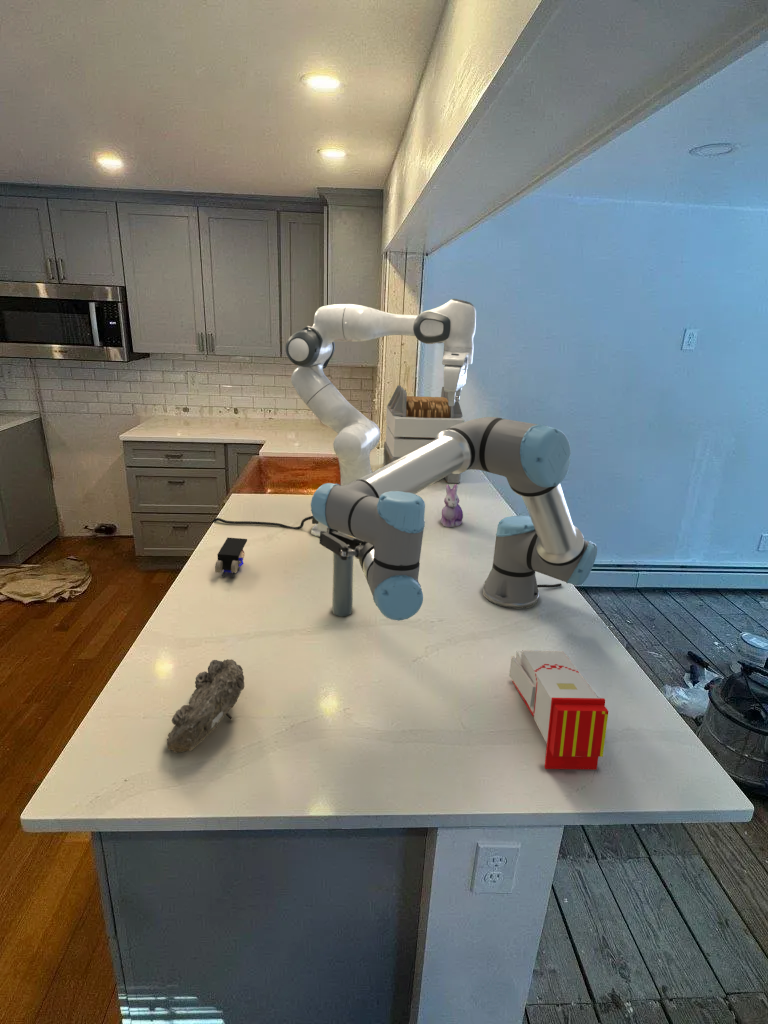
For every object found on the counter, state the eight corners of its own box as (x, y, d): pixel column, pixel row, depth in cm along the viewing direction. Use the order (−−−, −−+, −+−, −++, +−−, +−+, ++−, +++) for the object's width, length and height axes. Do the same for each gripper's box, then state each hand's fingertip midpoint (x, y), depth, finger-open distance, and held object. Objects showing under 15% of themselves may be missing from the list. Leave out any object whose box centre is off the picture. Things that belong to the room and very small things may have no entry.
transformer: (382, 463, 289) (386, 382, 275) (445, 464, 293) (451, 384, 279) (390, 482, 257) (394, 392, 243) (460, 483, 261) (468, 394, 247)
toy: (559, 632, 124) (618, 706, 95) (553, 688, 127) (609, 777, 97) (504, 631, 123) (546, 705, 94) (499, 687, 126) (539, 776, 97)
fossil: (192, 660, 117) (244, 628, 112) (224, 691, 120) (276, 661, 115) (142, 746, 98) (202, 712, 93) (182, 779, 101) (242, 748, 96)
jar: (330, 607, 149) (331, 538, 143) (349, 605, 151) (351, 536, 144) (334, 617, 145) (335, 546, 138) (354, 615, 146) (356, 544, 139)
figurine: (448, 529, 205) (451, 490, 200) (433, 520, 214) (436, 482, 209) (469, 526, 210) (473, 487, 204) (454, 517, 218) (457, 479, 213)
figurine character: (238, 584, 162) (249, 557, 175) (236, 562, 158) (247, 536, 172) (215, 584, 161) (227, 556, 175) (212, 561, 158) (225, 535, 171)
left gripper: (453, 354, 180) (449, 398, 185) (441, 358, 161) (437, 407, 166) (473, 355, 178) (468, 399, 183) (463, 360, 160) (459, 409, 164)
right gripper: (312, 583, 101) (304, 541, 120) (445, 583, 106) (417, 543, 126) (314, 543, 98) (306, 507, 118) (450, 546, 104) (421, 511, 124)
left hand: (454, 403), depth 174 cm, fingers open, 8 cm apart
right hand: (363, 525), depth 122 cm, fingers open, 13 cm apart
